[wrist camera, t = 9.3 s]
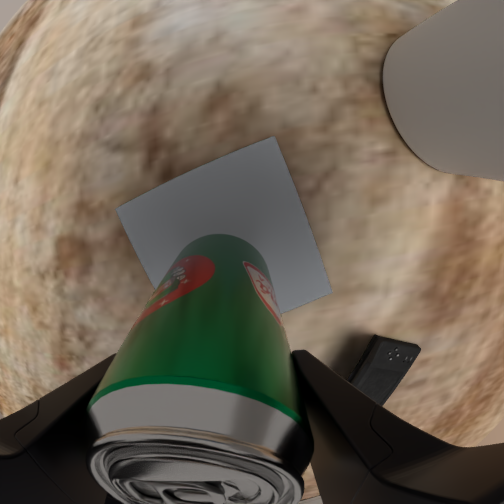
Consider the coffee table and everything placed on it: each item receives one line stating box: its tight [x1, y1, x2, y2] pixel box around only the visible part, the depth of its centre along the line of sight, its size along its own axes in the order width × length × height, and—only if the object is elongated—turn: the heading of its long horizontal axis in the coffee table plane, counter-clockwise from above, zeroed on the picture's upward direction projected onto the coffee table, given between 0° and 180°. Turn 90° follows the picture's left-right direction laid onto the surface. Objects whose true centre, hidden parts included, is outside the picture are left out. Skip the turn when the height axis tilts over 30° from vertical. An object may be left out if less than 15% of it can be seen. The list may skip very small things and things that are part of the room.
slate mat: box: [115, 136, 333, 314], centre depth 20 cm, size 12×12×1 cm
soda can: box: [85, 234, 314, 504], centre depth 10 cm, size 5×5×12 cm
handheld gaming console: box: [347, 335, 421, 406], centre depth 23 cm, size 12×7×10 cm
